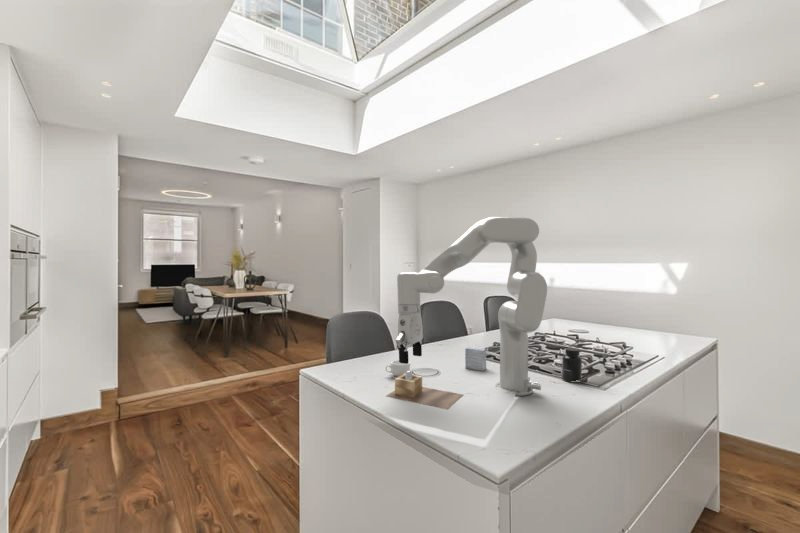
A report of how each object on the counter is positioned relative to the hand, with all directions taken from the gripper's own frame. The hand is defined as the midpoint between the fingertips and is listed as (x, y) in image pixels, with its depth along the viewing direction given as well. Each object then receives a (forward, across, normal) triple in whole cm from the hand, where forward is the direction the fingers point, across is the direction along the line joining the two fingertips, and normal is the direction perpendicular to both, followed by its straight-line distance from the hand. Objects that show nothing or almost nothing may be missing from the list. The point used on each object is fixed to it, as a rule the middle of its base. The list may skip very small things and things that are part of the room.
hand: (410, 359), depth 126 cm
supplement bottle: (+15, +45, -46) cm, 66 cm away
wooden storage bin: (+11, -1, +1) cm, 11 cm away
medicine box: (+14, +42, -9) cm, 45 cm away
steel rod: (+11, -1, +1) cm, 11 cm away
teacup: (+13, +17, +15) cm, 27 cm away
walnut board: (+13, -1, -5) cm, 14 cm away
